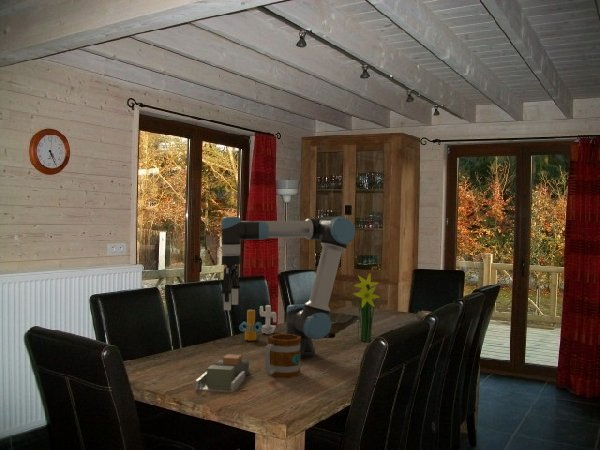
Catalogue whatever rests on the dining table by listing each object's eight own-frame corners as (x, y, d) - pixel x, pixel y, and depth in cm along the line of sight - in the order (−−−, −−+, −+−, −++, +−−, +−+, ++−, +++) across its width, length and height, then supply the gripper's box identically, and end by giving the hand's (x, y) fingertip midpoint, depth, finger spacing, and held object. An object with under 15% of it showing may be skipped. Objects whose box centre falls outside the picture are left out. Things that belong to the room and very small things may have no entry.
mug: (278, 368, 238) (279, 332, 238) (307, 373, 231) (307, 336, 231) (251, 379, 221) (251, 340, 221) (280, 385, 214) (281, 344, 214)
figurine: (273, 335, 306) (274, 306, 306) (257, 333, 309) (257, 305, 309) (278, 332, 313) (278, 305, 313) (261, 331, 316) (262, 303, 316)
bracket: (244, 380, 219) (244, 371, 219) (233, 392, 203) (233, 383, 203) (208, 378, 221) (209, 369, 221) (195, 390, 205) (195, 380, 205)
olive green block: (234, 382, 214) (234, 366, 214) (230, 386, 209) (231, 369, 209) (210, 381, 215) (211, 365, 215) (206, 384, 210) (207, 368, 210)
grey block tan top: (251, 370, 233) (252, 353, 233) (244, 379, 220) (244, 361, 220) (220, 368, 235) (221, 351, 235) (211, 377, 222) (211, 359, 222)
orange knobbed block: (266, 339, 294) (266, 310, 294) (254, 343, 285) (254, 312, 285) (247, 336, 301) (248, 307, 301) (234, 339, 292) (235, 310, 292)
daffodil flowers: (377, 347, 282) (379, 276, 282) (348, 344, 287) (349, 274, 286) (382, 340, 299) (384, 273, 298) (354, 338, 303) (356, 271, 303)
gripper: (229, 252, 245) (229, 302, 246) (214, 257, 220) (214, 312, 221) (246, 252, 244) (246, 302, 245) (233, 257, 220) (233, 312, 220)
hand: (231, 307), depth 233 cm, fingers open, 13 cm apart
